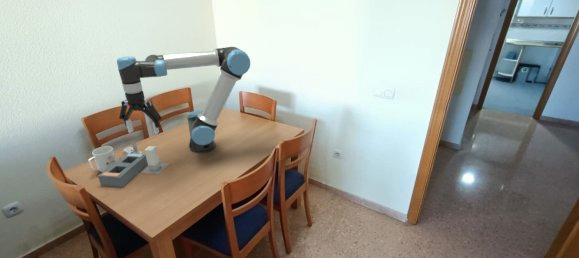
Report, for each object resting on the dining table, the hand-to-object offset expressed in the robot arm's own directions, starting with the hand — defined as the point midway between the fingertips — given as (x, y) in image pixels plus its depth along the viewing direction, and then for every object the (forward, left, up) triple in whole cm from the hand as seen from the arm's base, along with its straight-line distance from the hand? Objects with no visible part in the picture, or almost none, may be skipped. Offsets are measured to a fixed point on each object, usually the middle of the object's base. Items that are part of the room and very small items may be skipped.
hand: (144, 132), depth 133 cm
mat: (-2, +1, -21) cm, 21 cm away
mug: (+23, +5, -21) cm, 32 cm away
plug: (-2, +1, -20) cm, 20 cm away
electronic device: (+19, -12, -21) cm, 31 cm away
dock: (+10, +7, -21) cm, 24 cm away
